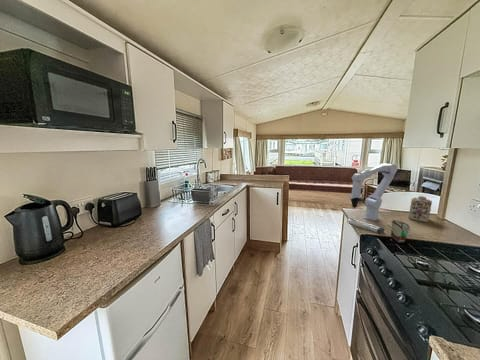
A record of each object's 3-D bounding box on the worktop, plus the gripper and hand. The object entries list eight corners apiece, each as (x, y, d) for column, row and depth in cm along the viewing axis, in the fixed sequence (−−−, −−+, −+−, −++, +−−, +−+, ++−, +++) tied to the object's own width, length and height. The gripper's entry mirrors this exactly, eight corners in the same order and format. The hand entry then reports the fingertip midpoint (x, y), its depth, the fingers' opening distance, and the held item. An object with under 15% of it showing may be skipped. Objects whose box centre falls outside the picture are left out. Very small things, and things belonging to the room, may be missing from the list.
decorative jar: (428, 219, 161) (432, 197, 158) (428, 223, 152) (432, 199, 149) (409, 215, 169) (412, 194, 166) (407, 218, 160) (411, 196, 157)
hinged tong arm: (348, 221, 149) (349, 218, 149) (350, 221, 150) (350, 217, 150) (382, 232, 131) (383, 228, 131) (384, 232, 132) (384, 228, 132)
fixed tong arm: (348, 222, 149) (348, 218, 149) (381, 233, 131) (382, 229, 130) (347, 222, 148) (347, 219, 148) (380, 234, 130) (381, 230, 130)
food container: (412, 245, 116) (415, 228, 115) (400, 243, 117) (403, 227, 116) (400, 235, 128) (403, 220, 126) (389, 234, 129) (392, 219, 128)
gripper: (356, 191, 145) (354, 210, 147) (367, 189, 152) (364, 207, 155) (347, 189, 151) (344, 207, 153) (357, 188, 158) (355, 205, 161)
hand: (354, 207), depth 154 cm, fingers closed
